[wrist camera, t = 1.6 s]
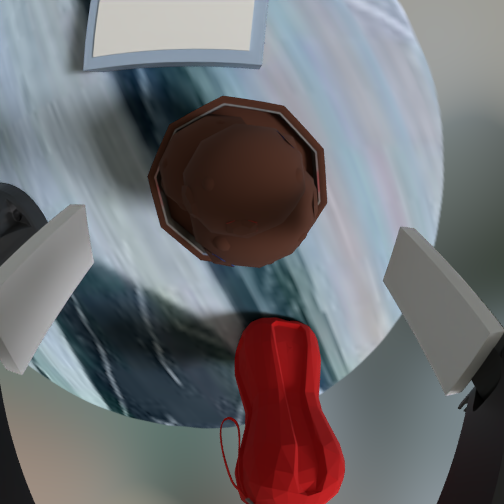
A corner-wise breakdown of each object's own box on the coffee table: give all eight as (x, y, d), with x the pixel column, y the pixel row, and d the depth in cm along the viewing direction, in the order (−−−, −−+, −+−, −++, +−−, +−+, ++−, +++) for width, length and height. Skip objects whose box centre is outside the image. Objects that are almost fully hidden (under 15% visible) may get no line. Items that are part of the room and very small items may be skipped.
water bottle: (233, 304, 34) (231, 539, 12) (322, 320, 36) (374, 524, 14) (217, 356, 39) (208, 545, 17) (295, 368, 40) (320, 541, 19)
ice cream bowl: (156, 135, 25) (73, 185, 12) (270, 76, 23) (305, 55, 10) (213, 230, 30) (193, 345, 17) (319, 181, 28) (384, 268, 14)
